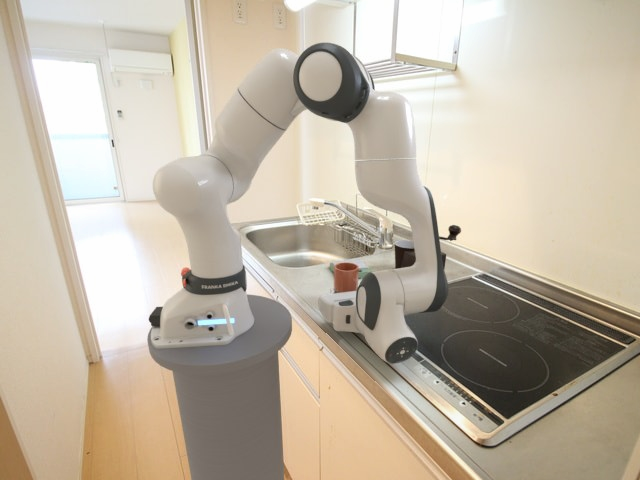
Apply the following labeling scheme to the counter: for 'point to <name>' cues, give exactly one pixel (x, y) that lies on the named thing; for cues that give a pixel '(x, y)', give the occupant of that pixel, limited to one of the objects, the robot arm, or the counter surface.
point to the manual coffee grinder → (453, 232)
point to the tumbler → (346, 277)
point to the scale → (362, 267)
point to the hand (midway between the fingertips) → (349, 288)
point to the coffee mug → (402, 251)
